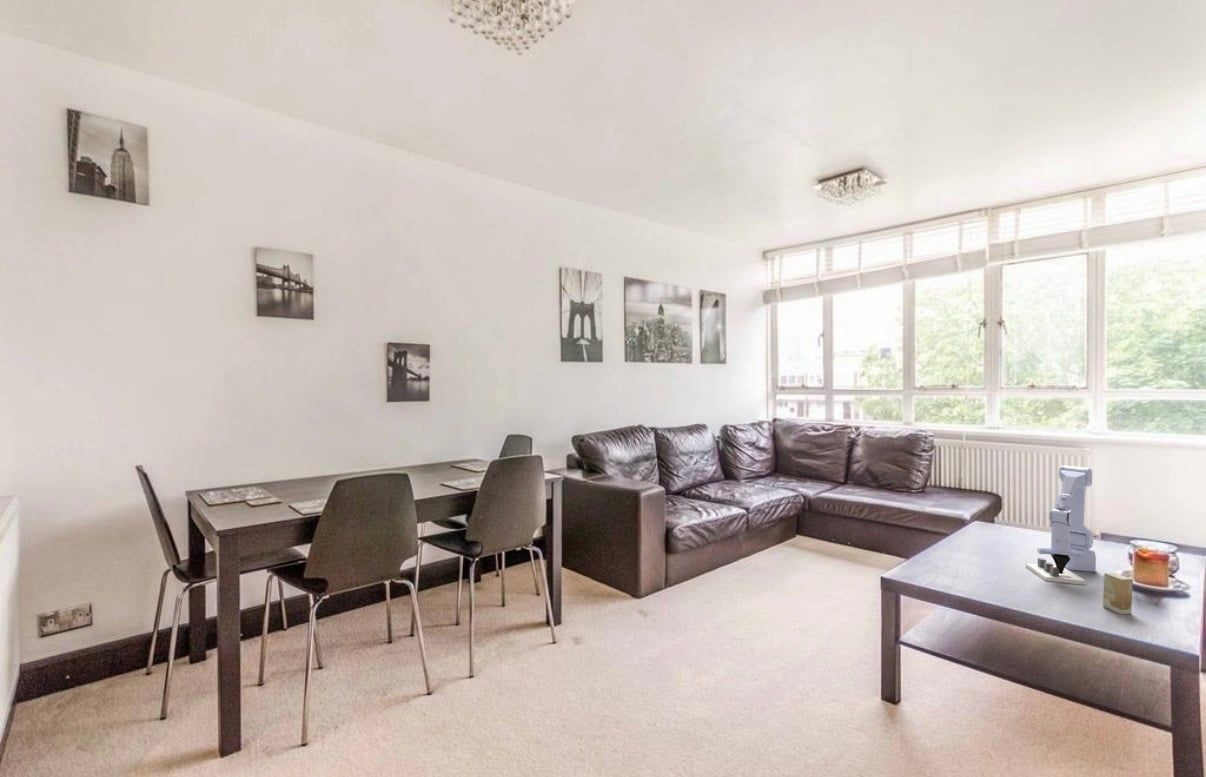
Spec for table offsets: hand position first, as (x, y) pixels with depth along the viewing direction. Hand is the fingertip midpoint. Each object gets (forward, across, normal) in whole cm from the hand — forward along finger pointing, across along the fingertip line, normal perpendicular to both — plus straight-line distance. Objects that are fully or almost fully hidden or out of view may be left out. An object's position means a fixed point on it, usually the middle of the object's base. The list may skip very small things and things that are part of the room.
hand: (1060, 573), depth 214 cm
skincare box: (+3, +4, -29) cm, 29 cm away
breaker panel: (+3, 0, +6) cm, 6 cm away
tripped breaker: (+1, -2, 0) cm, 2 cm away
